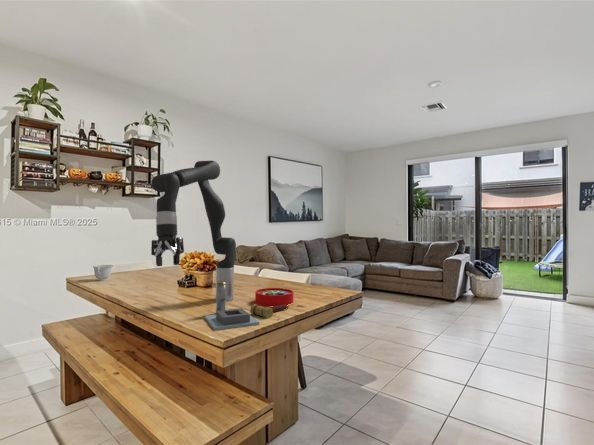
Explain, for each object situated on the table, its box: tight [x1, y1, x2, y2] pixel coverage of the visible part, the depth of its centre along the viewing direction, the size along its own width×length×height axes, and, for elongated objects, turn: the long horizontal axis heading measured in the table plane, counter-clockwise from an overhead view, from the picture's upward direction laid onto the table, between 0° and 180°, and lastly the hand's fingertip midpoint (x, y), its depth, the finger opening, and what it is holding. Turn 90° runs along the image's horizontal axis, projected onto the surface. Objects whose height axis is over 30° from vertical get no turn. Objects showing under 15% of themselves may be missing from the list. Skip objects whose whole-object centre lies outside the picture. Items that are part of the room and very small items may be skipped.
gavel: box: [250, 303, 290, 319], centre depth 150 cm, size 21×5×10 cm
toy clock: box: [254, 287, 294, 307], centre depth 169 cm, size 20×6×20 cm
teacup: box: [92, 264, 113, 282], centre depth 223 cm, size 12×15×10 cm
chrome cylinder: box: [215, 282, 227, 312], centre depth 145 cm, size 4×4×14 cm
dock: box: [204, 307, 260, 331], centre depth 134 cm, size 18×18×4 cm
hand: (167, 265), depth 124 cm, fingers open, 8 cm apart
